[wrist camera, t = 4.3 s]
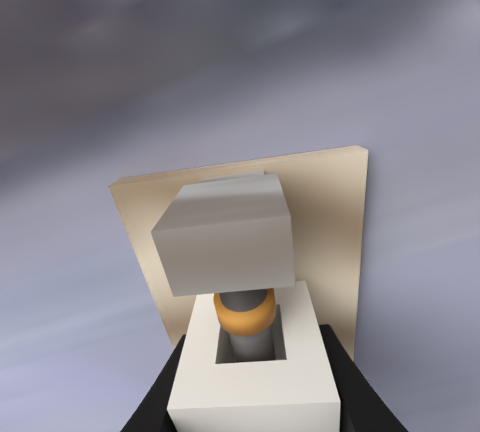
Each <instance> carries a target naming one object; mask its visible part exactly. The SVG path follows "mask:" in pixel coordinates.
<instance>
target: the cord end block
mask: <svg viewBox="0 0 480 432" xmlns="http://www.w3.org/2000/svg"><path fill="white" fill-rule="evenodd" d="M295 285H296V286H290V287H279V288H274V294H275V302H276V316H275V319H274V321H273V322H272V324H271V326H272V334H273V341H274V348H275V355H276V360H275V361H259V362H242V363H236V360H235V356H234V352H233V348H232V344H231V340H230V336H229V333H228V332H226V331H225V330H224V329H223V328H222V327H221V325H220V324H219V321H218V317H217V314H216V310H215V306H214V302H213V297H214V293H212V294H201V295H197V296H196V300H195V304H194V308H193V312H192V315H191V319H190V323H189V327H188V330H187V334H186V338H185V342H184V346H183V349H182V353H181V357H180V361H179V365H178V368H177V372H176V376H175V380H174V384H173V387H172V391H171V395H170V399H169V402H168V406H167V411H168V413H169V415H170V417H171V419H172V421H173V423H174V425H175V427H176V429H177V431H178V432H339V427H340V398H339V395H338V391H337V388H336V385H335V381H334V378H333V374H332V371H331V367H330V364H329V360H328V357H327V353H326V350H325V347H324V343H323V340H322V336H321V333H320V329H319V326H318V322H317V319H316V315H315V312H314V309H313V305H312V302H311V298H310V295H309V291H308V288H307V284H306V281H305V280H302V281H295Z"/></svg>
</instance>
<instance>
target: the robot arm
mask: <svg viewBox="0 0 480 432" xmlns="http://www.w3.org/2000/svg"><path fill="white" fill-rule="evenodd" d="M318 326H319V329H320V333H321V336H322V340H323V343H324V347H325V350H326V353H327V357H328V360H329V364H330V367H331V371H332V374H333V378H334V381H335V385H336V388H337V391H338V395H339V398H340V427H339V432H408V431H407V430H406V428H405V427H404V426H403V425H402V424H401V423H400V422H399V420H398V419H397V418H396V417H395V416H394V415H393V413H392V412H391V411H390V410H389V408H388V407H387V406H386V405H385V404H384V402H383V401H382V400H381V398H380V397H379V396H378V395H377V393H376V392H375V391H374V390H373V388H372V387H371V386H370V384H369V383H368V382H367V380H366V379H365V378H364V376H363V375H362V373H361V372H360V371H359V369H358V368H357V366H356V365H355V364H354V362H353V361H352V359H351V358H350V356H349V355H348V353H347V352H346V350H345V349H344V347H343V346H342V344H341V342H340V341H339V339H338V337H337V336H336V334H335V332H334V331H333V329H332V327H331V326H330V325H329V324H322V325H318ZM185 338H186V334H183V335H182V337H181V338H180V340H179V342H178V344H177V346H176V347H175V349H174V351H173V353H172V354H171V356H170V358H169V360H168V361H167V363H166V365H165V366H164V368H163V370H162V371H161V373H160V374H159V376H158V378H157V379H156V381H155V382H154V384H153V386H152V387H151V389H150V390H149V392H148V393H147V395H146V396H145V398H144V399H143V401H142V402H141V404H140V405H139V407H138V408H137V409H136V411H135V412H134V414H133V415H132V417H131V418H130V419H129V421H128V422H127V423H126V425H125V426H124V427H123V429H122V430H121V431H120V432H178V431H177V429H176V427H175V425H174V423H173V421H172V419H171V417H170V415H169V413H168V411H167V406H168V402H169V399H170V395H171V391H172V387H173V384H174V380H175V376H176V372H177V368H178V365H179V361H180V357H181V353H182V349H183V346H184V342H185Z"/></svg>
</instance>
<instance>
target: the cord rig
mask: <svg viewBox="0 0 480 432" xmlns="http://www.w3.org/2000/svg"><path fill="white" fill-rule="evenodd" d="M367 162H368V150H366V149H364V148H362V147H360V146H359V145H355V146H348V147H341V148H334V149H327V150H320V151H313V152H306V153H298V154H291V155H284V156H277V157H270V158H263V159H256V160H249V161H242V162H235V163H227V164H220V165H213V166H206V167H199V168H192V169H185V170H178V171H171V172H164V173H157V174H149V175H142V176H135V177H128V178H121V179H119V180H117V181H116V182H114V183H113V184H111V185H110V186H109V188H110V191H111V193H112V196H113V198H114V201H115V203H116V206H117V208H118V211H119V214H120V216H121V219H122V221H123V224H124V226H125V229H126V231H127V234H128V236H129V239H130V241H131V244H132V246H133V249H134V251H135V254H136V256H137V259H138V261H139V264H140V266H141V269H142V271H143V274H144V276H145V279H146V281H147V284H148V286H149V289H150V291H151V294H152V296H153V299H154V301H155V304H156V306H157V309H158V311H159V314H160V316H161V319H162V321H163V324H164V326H165V329H166V331H167V334H168V336H169V339H170V341H171V344H172V346H173V349H175V347H176V346H177V344H178V342H179V340H180V338H181V337H182V335H183V334H187V330H188V327H189V323H190V319H191V315H192V312H193V308H194V304H195V300H196V296H197V295H201V294H212V293H214V297H213V302H214V306H215V310H216V314H217V317H218V321H219V324H220V325H221V327H222V328H223V329H224V330H225V331H226V332H228V333H229V336H230V340H231V344H232V348H233V352H234V356H235V360H236V363H242V362H259V361H275V360H276V355H275V348H274V341H273V334H272V326H271V324H272V322H273V321H274V319H275V316H276V302H275V294H274V288H279V287H290V286H296V285H295V281H302V280H305V281H306V284H307V288H308V291H309V295H310V298H311V302H312V305H313V309H314V312H315V315H316V319H317V322H318V325H322V324H329V325H330V326H331V327H332V329H333V331H334V332H335V334H336V336H337V337H338V339H339V341H340V342H341V344H342V346H343V347H344V349H345V350H346V352H347V353H348V355H349V356H350V358H351V359H352V361H353V360H354V346H355V332H356V318H357V304H358V289H359V275H360V261H361V247H362V233H363V219H364V205H365V190H366V176H367Z"/></svg>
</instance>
